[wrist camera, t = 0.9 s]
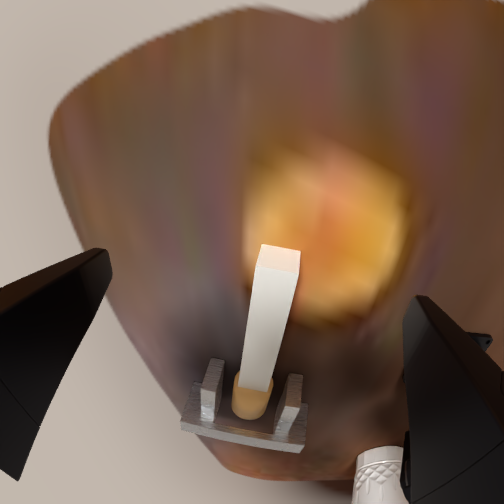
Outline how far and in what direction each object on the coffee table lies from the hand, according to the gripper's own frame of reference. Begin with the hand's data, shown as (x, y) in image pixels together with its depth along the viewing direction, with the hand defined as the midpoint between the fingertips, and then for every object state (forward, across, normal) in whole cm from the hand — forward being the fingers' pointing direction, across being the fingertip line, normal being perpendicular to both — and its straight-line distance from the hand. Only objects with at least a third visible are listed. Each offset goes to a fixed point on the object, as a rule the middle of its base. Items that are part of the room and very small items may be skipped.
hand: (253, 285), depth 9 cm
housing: (+10, 0, +20) cm, 22 cm away
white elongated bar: (+10, 0, +13) cm, 16 cm away
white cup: (+10, -18, +34) cm, 40 cm away
